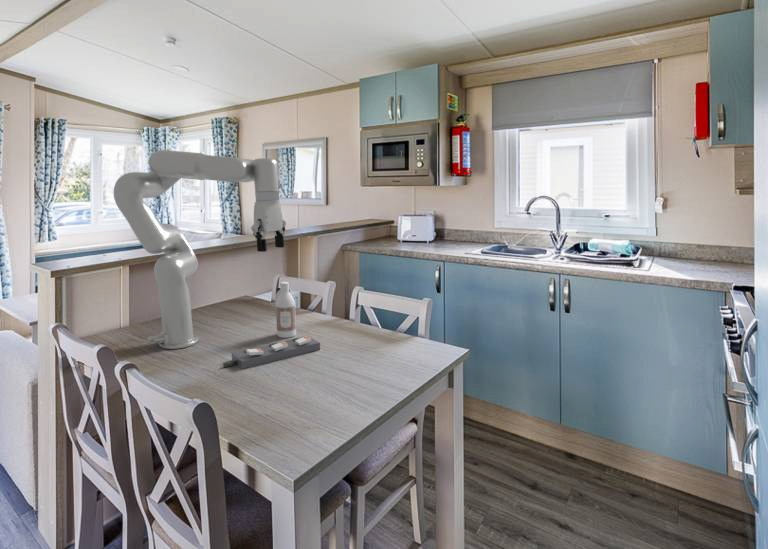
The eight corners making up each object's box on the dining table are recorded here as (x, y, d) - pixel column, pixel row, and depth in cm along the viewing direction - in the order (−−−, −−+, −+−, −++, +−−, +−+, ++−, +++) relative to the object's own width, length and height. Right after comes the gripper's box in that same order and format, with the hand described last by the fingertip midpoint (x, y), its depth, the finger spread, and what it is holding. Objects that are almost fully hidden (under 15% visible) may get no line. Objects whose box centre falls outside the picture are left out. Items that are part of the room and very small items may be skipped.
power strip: (229, 372, 136) (228, 363, 135) (219, 362, 143) (218, 354, 142) (320, 349, 154) (319, 342, 154) (307, 342, 161) (307, 335, 161)
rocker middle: (275, 351, 145) (275, 348, 145) (271, 348, 148) (270, 345, 147) (288, 346, 148) (287, 343, 147) (283, 343, 150) (283, 340, 150)
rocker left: (249, 355, 140) (250, 352, 140) (245, 352, 142) (246, 349, 142) (263, 354, 143) (263, 351, 143) (259, 351, 145) (259, 348, 145)
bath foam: (276, 338, 165) (273, 285, 161) (278, 332, 172) (275, 280, 168) (295, 337, 166) (293, 284, 162) (296, 331, 173) (294, 280, 169)
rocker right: (299, 345, 150) (299, 342, 150) (295, 342, 153) (294, 340, 152) (311, 340, 153) (310, 338, 152) (306, 338, 155) (306, 335, 155)
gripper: (273, 196, 158) (277, 245, 161) (240, 198, 142) (245, 252, 146) (292, 196, 155) (295, 246, 158) (260, 198, 139) (264, 253, 143)
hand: (271, 249), depth 152 cm, fingers open, 9 cm apart
